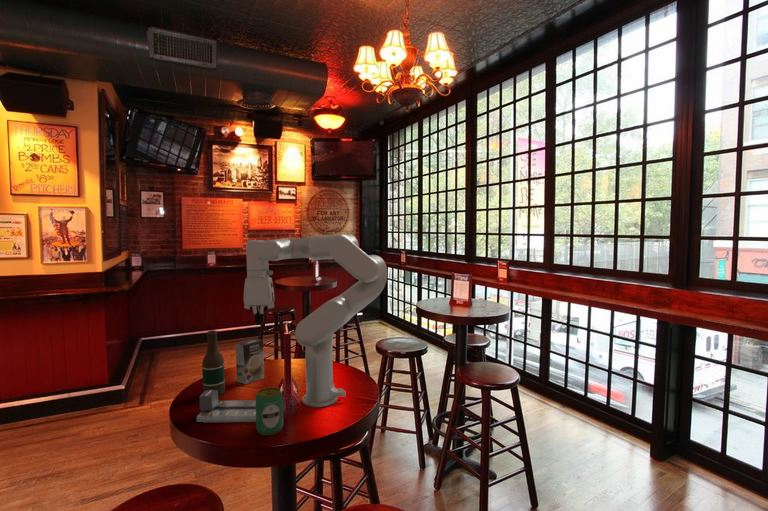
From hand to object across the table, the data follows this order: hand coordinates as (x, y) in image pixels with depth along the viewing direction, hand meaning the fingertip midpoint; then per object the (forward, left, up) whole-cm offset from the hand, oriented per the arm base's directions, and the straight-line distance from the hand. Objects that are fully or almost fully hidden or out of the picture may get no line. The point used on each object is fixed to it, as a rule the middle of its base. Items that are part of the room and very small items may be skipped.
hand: (259, 324), depth 149 cm
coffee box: (+10, -17, -27) cm, 34 cm away
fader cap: (+14, +14, -25) cm, 31 cm away
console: (+3, +14, -27) cm, 31 cm away
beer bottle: (+19, -3, -27) cm, 33 cm away
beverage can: (-10, +25, -27) cm, 38 cm away
